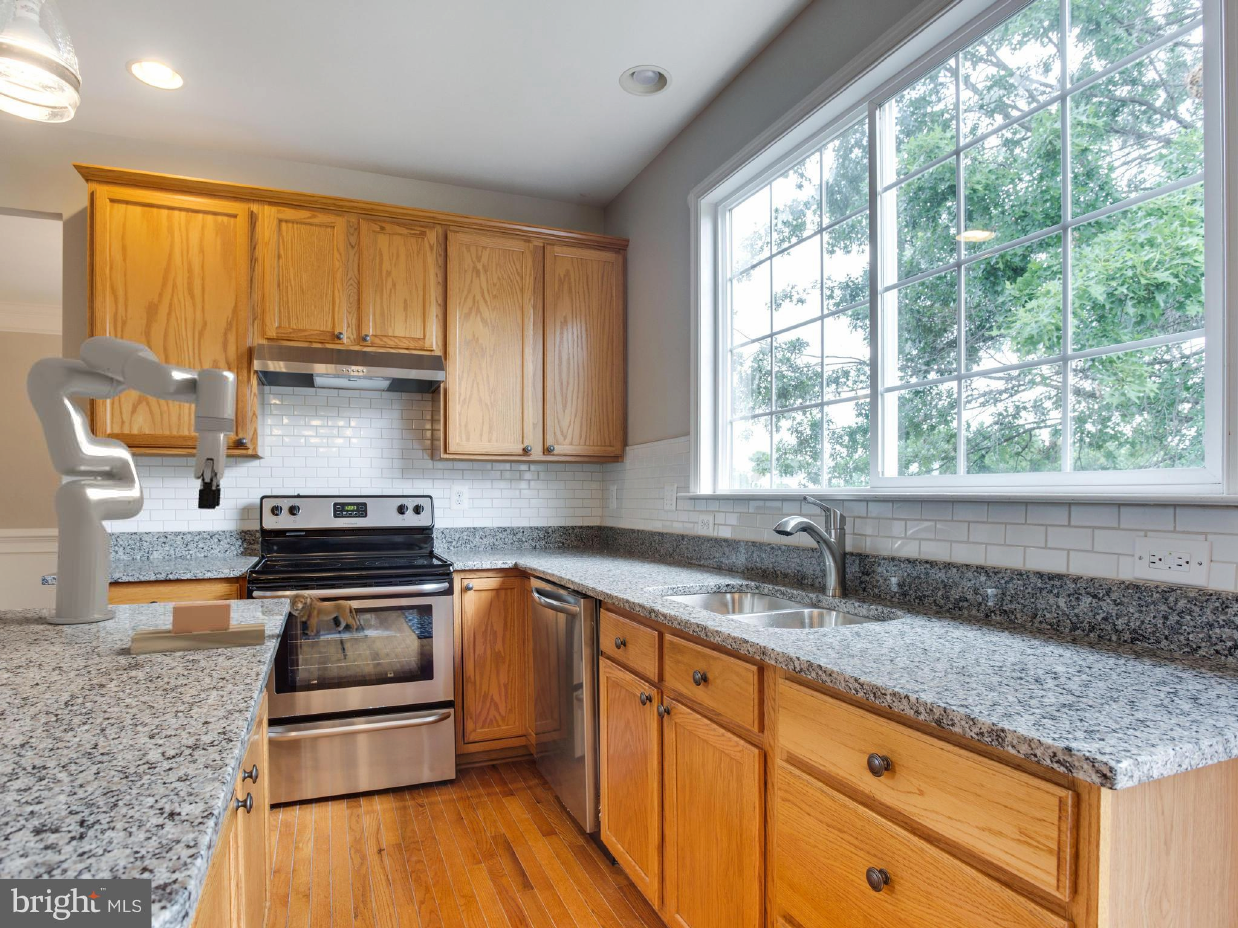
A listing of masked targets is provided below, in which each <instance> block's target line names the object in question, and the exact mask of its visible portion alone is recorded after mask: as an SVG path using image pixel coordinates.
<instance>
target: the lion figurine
mask: <svg viewBox="0 0 1238 928" xmlns="http://www.w3.org/2000/svg"><path fill="white" fill-rule="evenodd" d="M289 609H290V612H291V614H292V615H294V616H296V617H298V618H299V620H300V621H303V622H307V623H306V624H307V626H308V627H307V629H305V631H304V632H305V633H306V634H308V636H315V634H316V632H317V622H318V620H320V621H322V620H323V621H327V620H331V619H333V618H334V617H337V616H338V619H339V621H340V626H338V627H336V628H335V631H342V630H343V628H345V626H346V624H348V625H350V626H351V628H349V629H348V633H355V632H356V627H357V628H359V629H361V628H363V626H362V625H361V624H359V622H358V620H357V616H356V611H355V609H354V607H353V605H352V604H351V603H350V602H348V601H347V600H337V601H332V602H324V601H322V600H320V599H319V598H318V597H316V596H313V595H310V594H309V593H306V592H303V591H300V592H295V593H294V594H293V595H291V596H290V602H289ZM350 612H351V615H350ZM351 616H352V617H351Z"/></svg>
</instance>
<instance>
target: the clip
mask: <svg viewBox="0 0 1238 928" xmlns="http://www.w3.org/2000/svg"><path fill="white" fill-rule="evenodd" d="M231 618H232V601H231V600H230V601H211V602H192V603H191V602H190V603H189V602H188V603H175V604H174V605H173V606H172V621H171V622H172V623H171V624H172V625H171V626H172V627H171V629H172V633H177V634H183V633H190V632H202V631H225V630H230V625H231V622H232V621H231V620H232V619H231Z"/></svg>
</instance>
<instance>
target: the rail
mask: <svg viewBox="0 0 1238 928" xmlns="http://www.w3.org/2000/svg"><path fill="white" fill-rule="evenodd" d="M130 639H131V640H130V655H142V654H155V653H168V652H182V651H183V652H184V651H194V650H196V651H197V650H209V649H222V648H235V647H238V648H239V647H247V646H248V647H250V646H251V647H252V646H263V645H265V644H266V640H265V639H266V622H259V623H258V622H257V623H256V622H255V623H239V624H238V623H237V624H230V630H225V631H202V632H190V633H183V634H177V633H172V628H158V629H157V628H156V629H144V630H142V629H141V630H136V632H135V633H134V634H133V635H132V636H131V638H130Z"/></svg>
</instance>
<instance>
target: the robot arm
mask: <svg viewBox="0 0 1238 928" xmlns="http://www.w3.org/2000/svg"><path fill="white" fill-rule="evenodd" d="M79 355H80V358H81V360H79V359H75V358H74V359H73V358H68V357H56V356H54V357H52V356H51V357H44V358H41V359H38V360H37V361H36V362H34V363H33V364H32V366H31V367H30V369H29V371H28V374H27V377H26V378H27V379H26V391H27V396H28V398H29V399H28V400H29V401H30V404H31V406H32V408H33V410H34V412H35V414H36V416H37V417H38V420H39V423H40V425H41V428H42V433H43V436H44V439H45V443H46V447H47V450H48V454H49V457H50V460H51V463H52V467H53V468H54V470H55V471H56V472H57V474H59V475H61V476H64V477H70V478H72V477H73V478H85V479H73V480H70V481H66V482H65V483H63V484H60V486H59V487H58V488H57V490H56V491H55V493H54V497H53V504H54V509H55V510H54V511H55V515H56V521H57V522H56V523H57V537H58V538H57V561H56V562H57V565H56V566H57V567H56V584H55V585H56V587H55V590H56V592H55V609H54V610H55V611H54V613H52V614H49V615H46V617H45V622H47V623H48V624H59V625H68V624H69V625H70V624H71V625H72V624H75V625H76V624H85V623H87V624H88V623H94V622H101V621H106V620H110V619H114V618H115V617H116V616H117V611H116V610H114V609H109V590H110V565H111V563H110V562H111V538H110V535H109V532H108V531H107V529H106V526H105V525H104V524H103V521H119V520H120V521H121V520H122V521H123V520H128V519H133V518H135V517H136V516H138V515H139V514H140V513H141V511H142V510H143V508H144V502H145V501H144V499H145V498H144V491H143V488H142V484H141V479H140V477H139V473H138V471H137V466H136V463H135V459H134V456H133V454H132V451H131V450H130V448H129V446H127V445H126V444H125V442H123V441H121V440H120V439H116V438H112V437H100V436H95V435H94V434H93V433H92V431H91V428H90V425H89V424H90V423H89V420H88V418H87V416H86V414H85V413H84V411H82V409H81V407H79V406H78V404H76V403H75V402H74V401H73V400H72V399H71V398H70V397H78V398H84V399H85V398H86V399H93V400H94V399H95V400H105V401H106V400H111V399H114V398H117V397H118V396H120V395H122V394H123V393H125V392H127V391H128V390H129V389H130V390H132V391H134V392H137V393H139V394H142V395H143V396H144V395H145V396H148V397H149V398H150V397H151V398H154V399H157V400H161V401H170V402H177V403H185V404H190V405H191V404H192V405H194V412H193V413H194V417H193V428H192V429H193V431H192V433H195V434H198V436H197V441H196V442H197V443H196V449H195V450H196V451H195V460H194V461H195V464H194V471H193V473H194V474H193V478H194V480H196V481H198V480H200V483H199V489H198V498H197V508H198V509H199V510H215V509H217V508H216V507H220V505H221V492H222V491H221V490H222V488H221V480H222V479H224V475H225V467H226V460H227V459H226V458H227V449H228V448H227V447H228V446H227V445H228V436H234V434H235V422H236V421H235V417H236V416H235V415H236V405H237V404H236V401H237V383H238V378H237V375H236V373H234V372H233V371H230V370H226V369H220V368H212V367H211V368H201V369H200V370H199V369H194V368H189V367H184V366H181V365H180V366H179V365H174V364H167V363H163V362H160V360H159V358H158V357H157V356H156V354H154V352H153V351H152V350H151V349H150V348H149V347H148V346H147V345H145V344H144V343H141V342H136V341H131V340H127V339H121V338H117V337H113V336H107V335H97V336H92V337H89V338H87V339H86V340H85V341H83V343H82V344H81V346H80V349H79ZM93 478H94V479H93ZM95 478H96V479H95Z"/></svg>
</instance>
